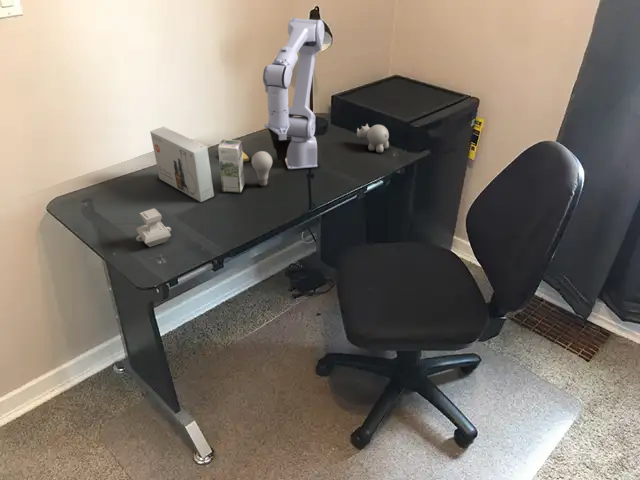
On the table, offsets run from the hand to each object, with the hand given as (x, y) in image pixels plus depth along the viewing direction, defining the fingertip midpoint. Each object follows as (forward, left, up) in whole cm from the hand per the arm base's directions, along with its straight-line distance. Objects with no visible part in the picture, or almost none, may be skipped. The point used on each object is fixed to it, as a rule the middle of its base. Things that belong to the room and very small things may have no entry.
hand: (279, 153), depth 164 cm
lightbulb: (+5, -1, -11) cm, 12 cm away
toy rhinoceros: (-35, -22, -11) cm, 43 cm away
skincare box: (+28, -4, -11) cm, 30 cm away
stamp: (+36, +24, -11) cm, 45 cm away
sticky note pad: (+12, -22, -10) cm, 27 cm away
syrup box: (+14, -1, -11) cm, 18 cm away
